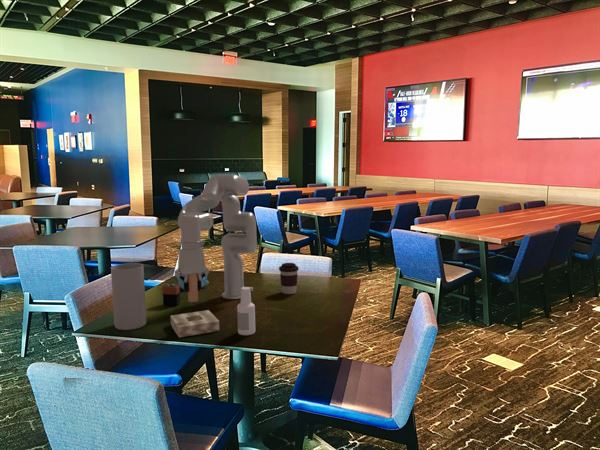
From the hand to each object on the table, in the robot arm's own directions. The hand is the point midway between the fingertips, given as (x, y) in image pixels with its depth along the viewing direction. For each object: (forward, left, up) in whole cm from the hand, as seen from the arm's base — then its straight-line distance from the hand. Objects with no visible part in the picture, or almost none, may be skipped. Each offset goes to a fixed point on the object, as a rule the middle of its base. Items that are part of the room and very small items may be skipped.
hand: (192, 290), depth 191 cm
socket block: (0, 0, -16) cm, 16 cm away
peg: (0, 0, -4) cm, 4 cm away
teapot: (-14, -65, -16) cm, 69 cm away
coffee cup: (-56, -30, -16) cm, 66 cm away
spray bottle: (-17, +15, -16) cm, 28 cm away
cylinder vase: (+23, -15, -16) cm, 32 cm away
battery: (+2, -37, -16) cm, 41 cm away
